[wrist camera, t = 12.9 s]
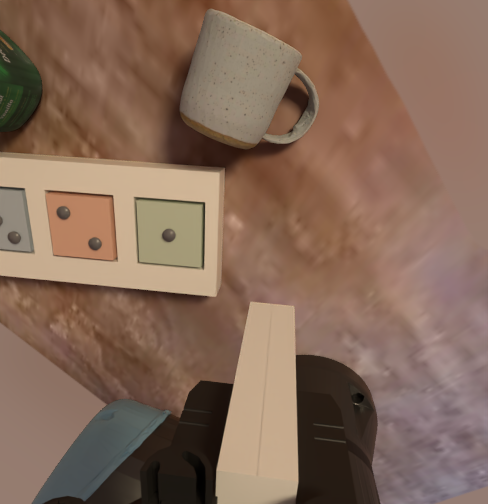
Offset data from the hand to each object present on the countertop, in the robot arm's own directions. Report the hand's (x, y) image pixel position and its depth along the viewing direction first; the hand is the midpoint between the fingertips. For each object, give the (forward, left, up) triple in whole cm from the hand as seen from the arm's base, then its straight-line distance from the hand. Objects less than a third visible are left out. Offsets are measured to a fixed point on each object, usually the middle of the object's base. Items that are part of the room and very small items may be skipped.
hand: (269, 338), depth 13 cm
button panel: (-4, +19, -24) cm, 31 cm away
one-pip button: (-4, +10, -24) cm, 27 cm away
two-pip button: (-4, +19, -24) cm, 31 cm away
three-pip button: (-4, +27, -24) cm, 37 cm away
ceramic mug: (+9, +3, -25) cm, 26 cm away
